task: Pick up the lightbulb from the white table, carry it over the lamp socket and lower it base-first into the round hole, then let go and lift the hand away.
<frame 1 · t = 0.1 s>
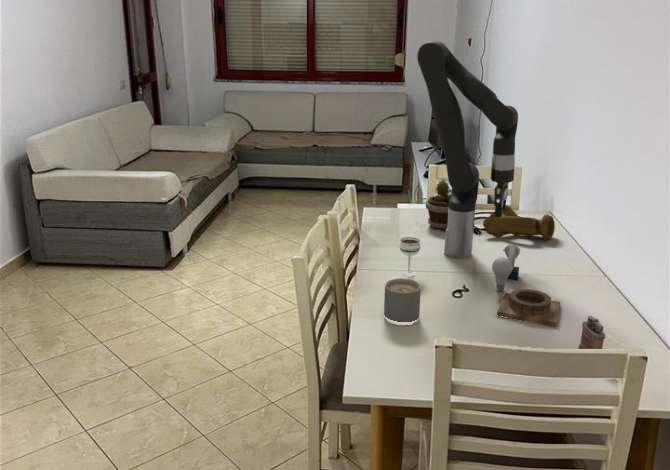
hand: (500, 213, 204), 17 cm above the table, tool pointing down, fingers open, 8 cm apart
lamp socket: (528, 311, 172), on the table
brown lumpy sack: (589, 355, 149), on the table
wineglass: (408, 274, 198), on the table
coffee mug: (401, 315, 170), on the table
flowerpot: (442, 227, 244), on the table
watch: (509, 277, 195), on the table
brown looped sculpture: (517, 237, 232), on the table
lightbulb: (499, 291, 185), on the table
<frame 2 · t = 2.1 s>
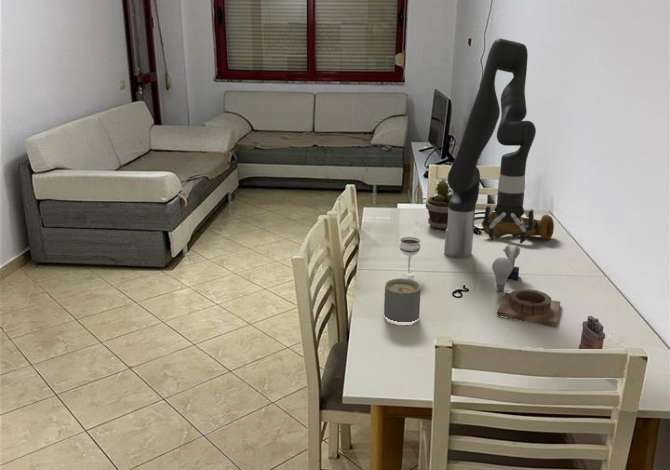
hand: (506, 240, 180), 17 cm above the table, tool pointing down, fingers open, 8 cm apart
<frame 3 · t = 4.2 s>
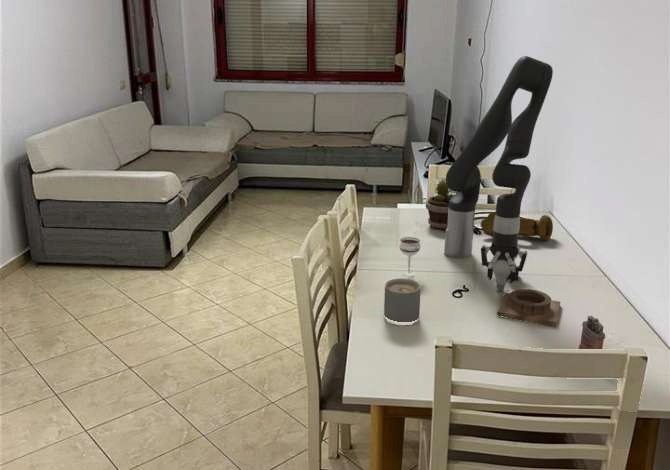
hand: (501, 280, 184), 4 cm above the table, tool pointing down, fingers closed on lightbulb, 5 cm apart
lightbulb: (499, 291, 185), on the table, touching gripper
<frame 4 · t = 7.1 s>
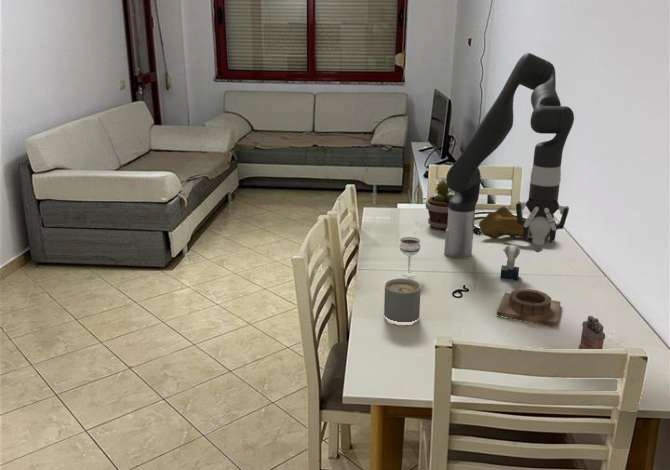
hand: (538, 240, 165), 22 cm above the table, tool pointing down, fingers closed on lightbulb, 5 cm apart
lightbulb: (537, 252, 166), point 18 cm above the table, touching gripper
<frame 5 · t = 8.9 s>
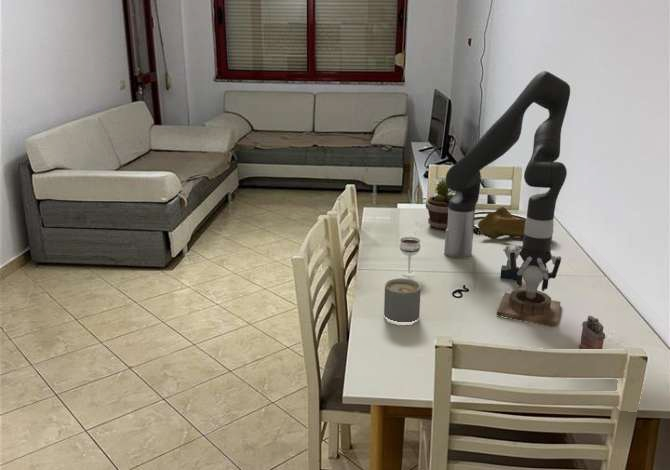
hand: (531, 287, 169), 7 cm above the table, tool pointing down, fingers closed on lightbulb, 5 cm apart
lightbulb: (530, 299, 171), point 4 cm above the table, touching gripper
when the fingers open (6 cm above the table, at t = 10.1 s): lightbulb stays where it is, resting on lamp socket.
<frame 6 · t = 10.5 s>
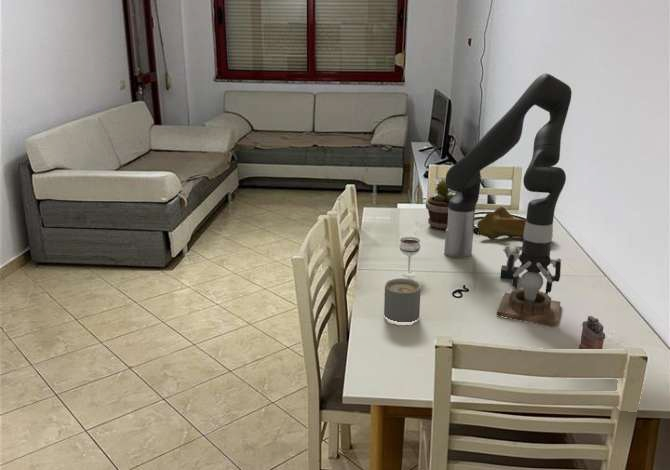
hand: (531, 290, 170), 7 cm above the table, tool pointing down, fingers open, 8 cm apart
lightbulb: (529, 307, 171), point 1 cm above the table, touching lamp socket
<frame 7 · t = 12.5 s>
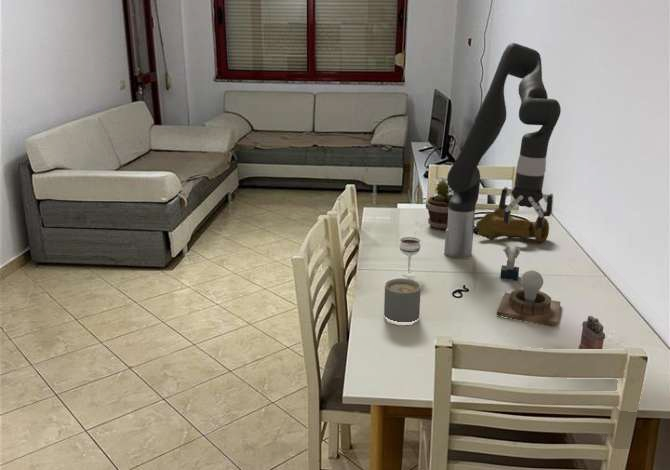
hand: (522, 226, 171), 24 cm above the table, tool pointing down, fingers open, 8 cm apart
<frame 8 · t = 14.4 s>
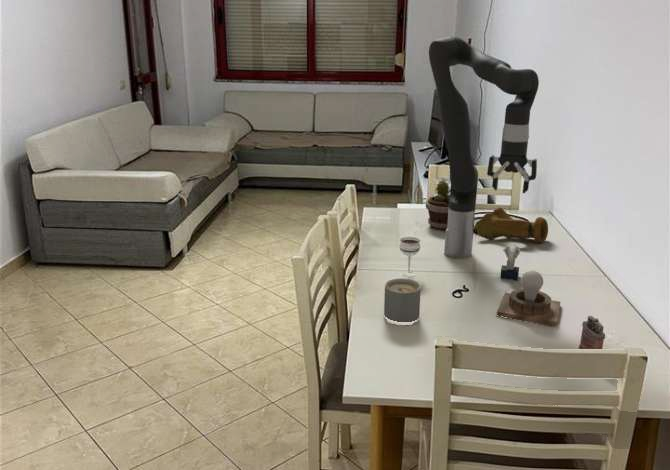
hand: (509, 191, 182), 30 cm above the table, tool pointing down, fingers open, 8 cm apart
at the end: lightbulb 0.1 cm off-centre on the lamp socket, point 1.3 cm above the lamp socket's base; lightbulb tilted 0°; the gripper is holding nothing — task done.
